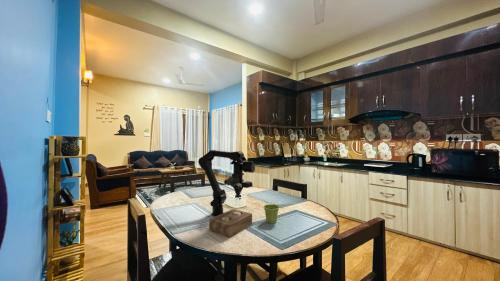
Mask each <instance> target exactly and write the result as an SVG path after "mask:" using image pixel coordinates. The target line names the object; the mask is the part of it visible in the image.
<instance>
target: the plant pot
mask: <svg viewBox="0 0 500 281" xmlns="http://www.w3.org/2000/svg"><path fill="white" fill-rule="evenodd" d="M263 209H264V213H265V220H266V222H267V223H270V224H275V223H277V221H278V213H279V209H280V206H279V205H278V204H272V203H271V204H270V203H268V204H265V205H263Z"/></svg>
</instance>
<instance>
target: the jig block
mask: <svg viewBox="0 0 500 281" xmlns="http://www.w3.org/2000/svg"><path fill="white" fill-rule="evenodd" d="M234 212H240V213H241V215H239V216H236V215H234ZM224 217H228V218H229V221H227V222H225V221H222V218H224ZM208 220H209V221H208V224H209V225H208V231H210V232H211V233H215V234H217V235H220V236H224V237H226V238H231V237H233V236H235V235H236V234H238V233H240V232H241V231H244V229H245V230H246V228H248V227H250V226H252V225H253V213H251V212H247V211H243V210H239V209H234V208H232V209H229V210H227V211H225V212H223V214H220V215H218V216H213V217H211V218H209V219H208Z"/></svg>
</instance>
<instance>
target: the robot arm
mask: <svg viewBox="0 0 500 281" xmlns="http://www.w3.org/2000/svg"><path fill="white" fill-rule="evenodd" d="M215 157H217V158H225V159H230V160H231V162H230V165H233V169H232V170H233V172H232V173H231V176H230V177H228V178H226V179H224V180H223V183H224V185H227V186H230V187H231V188H233V190H234V192H235V196H236V198H240V195H241V194H242V191H243V189H244V188H245V189H249V188H251V187H253V182H252V181H247V180H246V181H244V180H245V179H244V178H243V176H244V175H245V173H251V174H253V173H254V172H256V171H255V170H256V166H255V163H254V160H253V161H251V160H249V161H248V160H247V159H246V157H245V154H244V152H243V151H241V150H239V151H224V150H216V149H210V150H209V151H208V152H207V153H205V154H204V155H203V156H201V157H199V158H198V161H197V162H198V165H199V167H200V168H201V169H202V170H203V171H204V172H205V176H206V177H207V178H206V179H207V180H208V181H209V182H208V183H209V185H210V188H211V190H212V201H210V203H209V204H210V207H212V208H211V209H212V212H211V213H210V215H211V216H213V217H216V216H218V215H220V214H223V213H224V206H223V204H225V201H226V200H227V198H228V196H227V193H226V190H225V189H222V188H221V187H220V185H219V182H218V181H217V177H216V175H215V173H214V170H213V163H212V161H213V160H214V159H215Z"/></svg>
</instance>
